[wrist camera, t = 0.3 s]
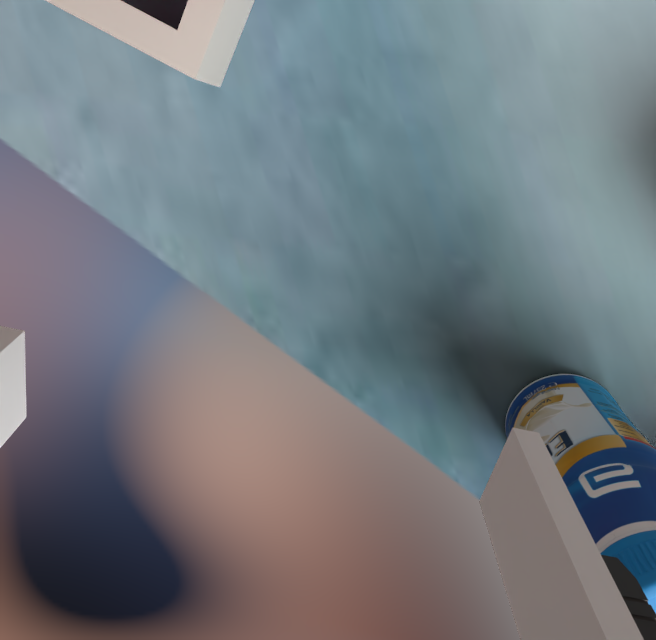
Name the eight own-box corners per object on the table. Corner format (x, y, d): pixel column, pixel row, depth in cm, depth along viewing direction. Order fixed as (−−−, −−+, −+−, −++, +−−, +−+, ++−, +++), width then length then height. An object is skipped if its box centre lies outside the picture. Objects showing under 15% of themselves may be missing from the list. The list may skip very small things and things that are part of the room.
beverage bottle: (606, 475, 44) (765, 729, 25) (494, 463, 44) (566, 700, 26) (628, 374, 41) (826, 571, 22) (510, 364, 42) (602, 545, 23)
